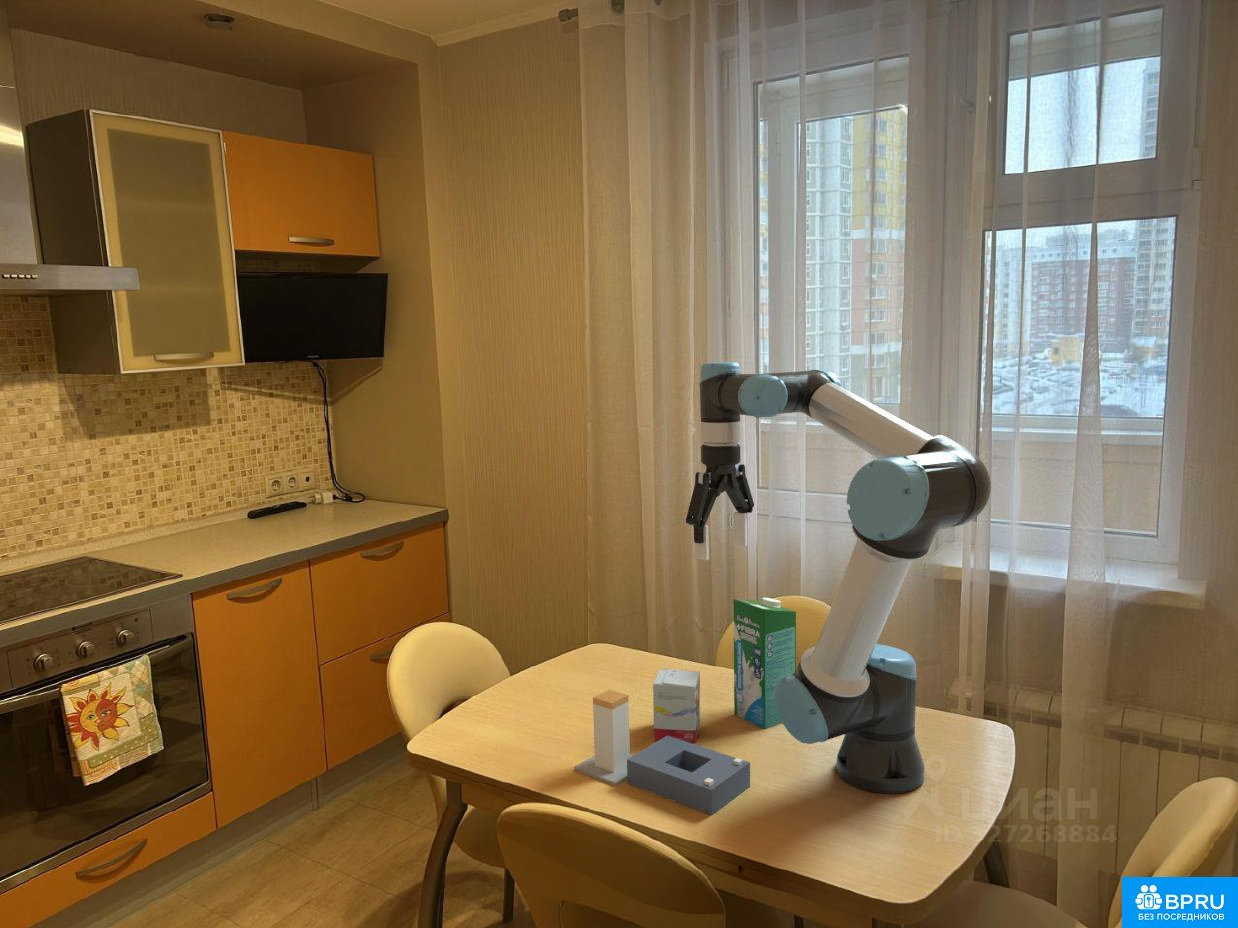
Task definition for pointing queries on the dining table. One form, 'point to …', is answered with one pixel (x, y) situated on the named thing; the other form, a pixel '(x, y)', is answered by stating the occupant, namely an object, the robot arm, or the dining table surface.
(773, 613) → the milk carton
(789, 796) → the dining table surface
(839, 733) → the robot arm
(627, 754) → the plug
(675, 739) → the grey square-hole block
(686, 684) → the ink box
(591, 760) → the mat
